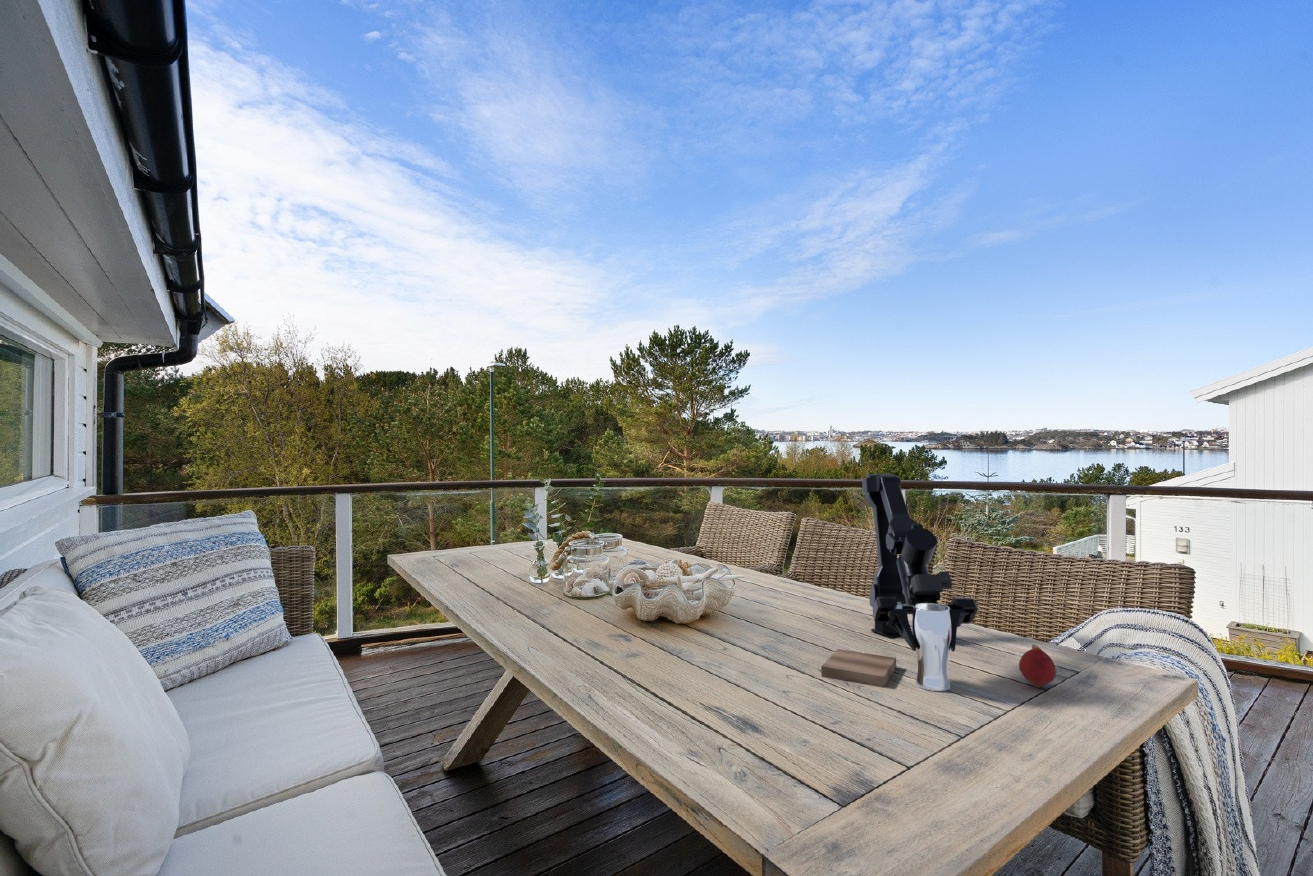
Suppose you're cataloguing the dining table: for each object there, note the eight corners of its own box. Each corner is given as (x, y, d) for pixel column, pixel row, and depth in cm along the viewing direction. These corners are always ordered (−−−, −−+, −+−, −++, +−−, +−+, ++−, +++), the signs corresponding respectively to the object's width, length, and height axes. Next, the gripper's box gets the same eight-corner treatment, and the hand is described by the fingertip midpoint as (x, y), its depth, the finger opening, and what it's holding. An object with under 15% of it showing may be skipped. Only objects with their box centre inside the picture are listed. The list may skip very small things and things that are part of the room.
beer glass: (945, 678, 122) (943, 602, 122) (958, 693, 115) (957, 611, 115) (908, 678, 122) (906, 601, 122) (919, 692, 115) (918, 611, 116)
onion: (1051, 683, 118) (1050, 641, 118) (1060, 695, 113) (1058, 651, 113) (1016, 680, 120) (1015, 638, 120) (1023, 691, 115) (1022, 648, 115)
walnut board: (838, 658, 135) (837, 649, 135) (896, 667, 128) (896, 657, 128) (821, 676, 124) (821, 666, 124) (884, 687, 118) (883, 676, 118)
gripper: (874, 556, 124) (889, 628, 113) (972, 556, 122) (998, 629, 110) (867, 587, 132) (880, 657, 120) (959, 587, 129) (982, 659, 118)
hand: (934, 650), depth 117 cm, fingers closed on beer glass, 7 cm apart
